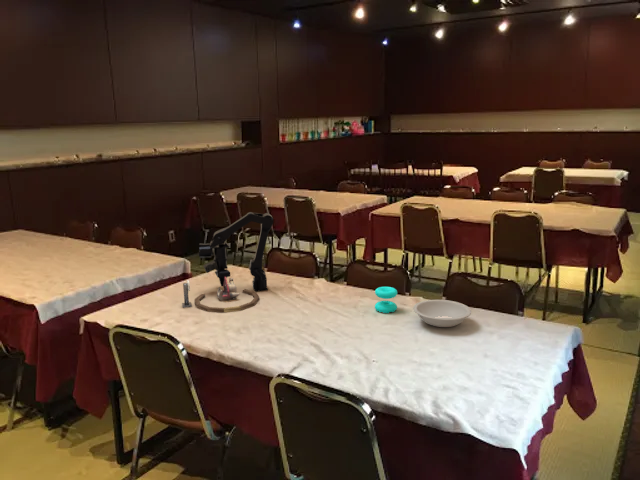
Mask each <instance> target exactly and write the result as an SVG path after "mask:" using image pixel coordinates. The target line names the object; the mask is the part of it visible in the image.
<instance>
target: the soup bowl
mask: <svg viewBox="0 0 640 480" xmlns="http://www.w3.org/2000/svg"><path fill="white" fill-rule="evenodd" d="M412 310H413V312H414V313H415V314H417V315H418V316H419V318H420V319H421V320H422V321H423V322H424V323H426V324H428V325H431V326H432V327H433V326H434V327H438V328H439V327H440V328H450V327H455V326H458V325H460V324H461V323H463V322H464V321H465V320H466V318H469V317H470V316H471V315H472V309H471V308H470V307H469V306H468V305H466V304H463V303H461V302H458V301H455V300H454V301H453V300H448V299H428V300H426V299H425V300H422V301H420V302H419V301H418V302H416V303H415V304H414V305H413V307H412ZM438 316H440V317H442V316H448V317H452V318H435V317H438Z"/></svg>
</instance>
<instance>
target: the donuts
mask: <svg viewBox="0 0 640 480" xmlns="http://www.w3.org/2000/svg"><path fill="white" fill-rule="evenodd" d="M374 294H375V296H376V297H378V298H380V299H384V300H380V301H378V302H376V303H375V305H374V309H375V311H377V312H378V311H379V312H378V313H381V312H383V313H382V314H390V313H389V312H392V313H395V312H396V311H397V309H398V306H397V304H396V303H395V302H393V301H391V300H390V299H394V298H395V297H397V295H398V290H397V289H396V288H395V287H393V286H392V287H391V286H379V287H377V288H376V289H375V290H374ZM395 310H396V311H395Z"/></svg>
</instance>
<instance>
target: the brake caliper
mask: <svg viewBox="0 0 640 480" xmlns="http://www.w3.org/2000/svg"><path fill="white" fill-rule="evenodd" d="M222 287H223V289H221V287H218V288H217V292H216V297H217V298H218V299H219V301H221V302H223V303H227V302H228V303H230V302H235V301H240V299H236V298H238V296H240V292H237V285H236V284H235V282H234V278H231V277H229V278H228V279H227V278H226V277H225V278H224V284H223V286H222Z"/></svg>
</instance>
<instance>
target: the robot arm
mask: <svg viewBox="0 0 640 480" xmlns="http://www.w3.org/2000/svg"><path fill="white" fill-rule="evenodd" d="M251 222H253V223H257V224H260V232H259V233H260V234H259V238H258V242H257V247H256V250H255V254H254V257H253V259H249V260H250V262H249V265H248V269H249V271H250V273H249V274H250V275H251V276H252V277H253V280H252V288H253V291H254V292H264V291H268V290H269V289H268V283H267V281H268V278H267V274H266V270H264V269H263V257H264V252H265V248H266V244H267V240H268V235H269V232H270V231H271V229H272V227H273V225H274V217H273V216H272V215H271V214H270V213H268V212H266V213H259V212H252V211H249V212H247V213H246V214H245V215H244V216H243V215H242V217H241V218H239V219H237V220H235V222H233V223H232V224H230V225H228V226H226V227H224V228H221V229H218V230H217V231H215V232H214V233H213V237H212V239H211V240H210V243H199V244H198V246H199V247H198V248H199V249H198V257H199V258H212V256H214V257H213V260H212V261H210V262H207V263H205V264H203V268H204V271H205V272H206V273H207V274H208V273H210V272H212V271H214V270H215V271H214V274H215V276H216V277H217V278H218V281H219V284H220V286H221V287H223V284H224V278H225V277H226V279H227V278H231V272H230V270H229V269H228V266H227V265H228V263H227V262H228V258H227V248H228V249H229V248H230V244H229V243H227V240H228V239H229V238H230V237H231V236H232V235H233V234H234V233H236V232H237V231H239V230H240V229H242V228H243V227H245V226H246V225H248V224H249V223H251Z"/></svg>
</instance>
